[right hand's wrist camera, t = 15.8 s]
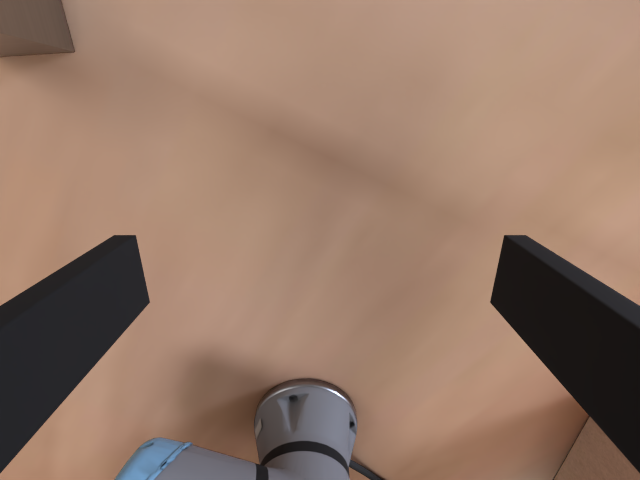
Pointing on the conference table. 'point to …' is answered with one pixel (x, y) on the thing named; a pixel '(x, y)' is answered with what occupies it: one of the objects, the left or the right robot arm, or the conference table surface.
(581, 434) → the box
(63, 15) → the block
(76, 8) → the conference table surface
